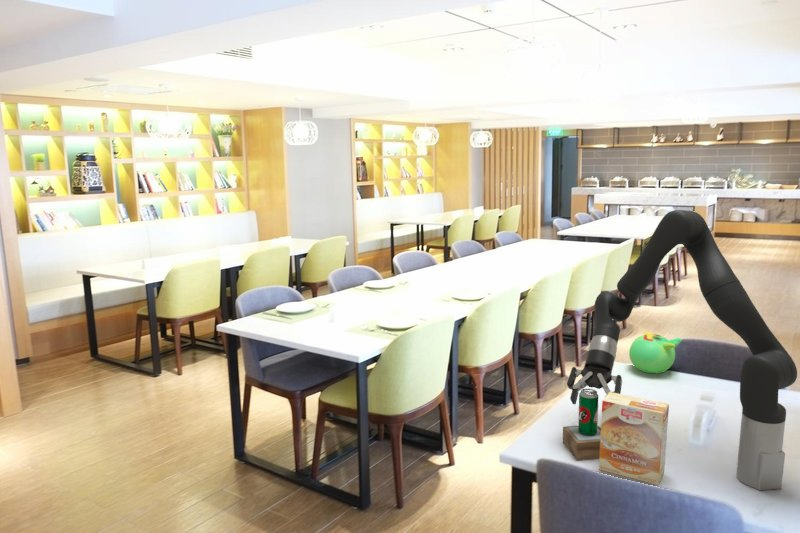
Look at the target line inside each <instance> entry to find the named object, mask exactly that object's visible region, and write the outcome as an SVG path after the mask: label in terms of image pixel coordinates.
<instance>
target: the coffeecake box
mask: <svg viewBox="0 0 800 533" xmlns="http://www.w3.org/2000/svg"><path fill="white" fill-rule="evenodd" d="M613 392H614V391H611V392H609V393H608V394H606V395H605V396H606V397H605V396H604V397H603V399H602V401H601V402H602V403H601V417H600V418H601V419H600V420H601V422H600V428H601V437H600V457H599V458H598V460H599V461H598V462H599V464H598V470H600V471H603V472H607V473H611V474H615V475H617V476H618V475H619V476H622V477H627V478H630V479H634V480H638V481H641V482H644V483H649V484H651V485H656V486H659V485H660V482H661V480H662V478H663V476H664V475H665V465H666V452H667V440H668V439H667V438H668V423H669V412H670V409H669V408H670V403H668V402H667V403H666V402H662V401H657V400H653V399H647V398H643V397H638V396H632V395H627V394H622V393H620V394H618V393H613Z"/></svg>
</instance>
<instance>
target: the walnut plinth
mask: <svg viewBox="0 0 800 533" xmlns="http://www.w3.org/2000/svg"><path fill="white" fill-rule="evenodd" d="M600 437H601V426H600V425H597V433H596V434H594V435H590V436H589V435H584V434H581V433H580V432H579V430H578V425H568V426H562V444H563V445H564V447H565V448H566V449H567V450H568V451H569V453H570V454H571V453H572V454H571V455H572V456H573V457H574V459H575V460H576V461H584V460H596V459H599V457H600Z"/></svg>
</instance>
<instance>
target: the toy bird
mask: <svg viewBox="0 0 800 533" xmlns="http://www.w3.org/2000/svg"><path fill="white" fill-rule="evenodd" d="M682 341H683V339H682V337H677V338H676V337H675V338H673V339H668V338H666V337H664V336H662V335H660V334H655V333H651V332H648V331H644V334H642V335H639V336H637V337H636V338H635V339H634V340H633V341H632V343H631V345H630V347H629V351H628V352H629V355H628V356H629V360H630V362H631V363H632V365H633V366H634V367H635V368H637V369H638V370H640V371H642V372H644V373H648V374H660V373H661V374H662V373H665V372H666V371H667V370H669V369H670V368H671V367H672V366H673V364H674V362H675V359H676V350H675V349H676V347H677V346H678V345H680V343H681V342H682Z"/></svg>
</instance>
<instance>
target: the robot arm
mask: <svg viewBox="0 0 800 533" xmlns="http://www.w3.org/2000/svg"><path fill="white" fill-rule="evenodd" d="M713 236H714V235H713V234H712V232H711V230H710V228H709V226H708V224H707V222H706V220H705V219H704V217H703V216H702V215H701V214H700V213H698V212H697V211H693V210H683V209H676V210H670V211H669V212H667V213H666V214H664V216H663V217H662V218H661V220H660V221H659V223H658V224H657V226H656V228H655V230H654V231H653V233H652V235H651V237H650V238H649V239H648V241H647V243H646V245H645V247H644V248H643V250H641V253H640V255H638V257H637V258H636V260H635V261H634V262H633V264H632V265H631V266H630V267H629V268H628V270H627V271H626V272H625V273H624V274H623V276H622V277H620V279H619V280H618V282H617V284H616V287H617V288H616V289H617V291H619V293H620V294H621V295H622V296H624V297H621V296H619V295H616V294H615V293H614V292H610V291H608V290H605V291H602V292H600V293H599V294H598V295H597V297H596V298H595V301H594V321H595V322H594V323H595V327H594V330H593V334H592V339H591V341H590V343H589V347H588V350H587V355H586V358H585V363H584V366H583V369H578V368H577V367H576V366H573V367H572V368H571V371H570V373H569V377H568V378H567V382H566V385H567V387H568V389H569V390H571V394H570V397H569V398H570V401H571V403H572V405H577V401H578V398H579V392H581V390H582V389H586V388H587V387H589V388H596V389H598V390H600V389H603V391H604V393H605V396H604V397H606V396H607V394H608V393H609V392H613V393H618V394H622V392H621V390H622V385H623V378H622V376H621V375H620V374H617V375H612V373H613V370H614V369H613V368H614V364H615V359H616V357H617V348H618V342H619V337H620V333H621V327H620V325H619V324H618V323H617V322H619V323H622V322H624V321H626V320H627V319H629V318H630V316H631V314H632V311H633V309H634V306H635V305H636V302H638V301H637V300H638V299H639V297H640V296H641V294H642V293H643V292H644V291H645V290H646V289H647V287H648V286H650V284H651V283H652V282H653V280H654V279H655V277H656V276H657V275H656V274H657V272H658V270H659V267H660V265H661V263H662V262H663V260H664V258H665V257H666V256H667V255H668V254H669V252H670V251H672V250H673V249H674V248H676V247H677V246H678V245H683V246H684V248H685V249H686V251H687V253H689V256H690V257H691V258H692V261H693V262H694V264H695V267H696V271H697V279H698V280H697V281H698V285H699V289H700V292H701V295H702V296H703V298H704V300H705V302H706V303H707V305H708V307H709V308H710V310H711V312H712V313H713V314H714V315H715V317H716V318H717V319H718V320H720V321H721V322H722V323H723V324H724V325H725V326H727V327H728V328H730V330H732V331H733V332H734V333H736V334H737V335H738V336H739V337H740V339H741V340H742V341H743V342H744V343H745V345H746V346H747V347H748V349H749V351H750V352H751V354H752V355H751V356H748V357H746V359H745V360H744V361H743V363H742V365H741V369H740V375H739V376H740V379H739V381H740V382H739V401H740V404H741V407H742V408H741V420H740V431H739V439H738V440H739V444H738V452H737V463H736V464H737V466H736V478H737V479H738V481H740V482H741V483H743V484H745V485H746V486H748V487H752V488H755V489H756V490H757V491H767V490H768V491H769V490H777V489H782V486H783V478H784V477H783V476H784V469H785V468H784V467H785V459H786V453H785V452H784V451H783V446H784V436H785V427H786V419H787V418H786V417H787V409H786V408H785V406H784V405H782V404H781V403H779V391H780V390H782V389H785V388H788V387H790V386H792V385H793V384H795V382H796V380H797V378H798V370H797V365H796V363H795V361H794V360H793V359H792V356H791V355H790V354H789V353H788V351H787V350H786V349H785V347H784V346H783V345H782V343H781V342H780V341H779V340H778V339H777V337H776V336H775V334H774V333H773V332H772V331H771V329H770V328H769V326H768V325H767V323H766V322H765V320H764V319H763V317H762V315H761V314H760V312H759V310H758V309H757V308H756V306H755V304H754V303H753V301H752V300H751V298H750V296H749V295H748V293H747V291H746V290H745V287H744V286H743V285H742V283H741V282H740V279H738V277H737V275H736V273H735V272H734V271H733V269H732V268H731V266H730V265H729V263H728V261H727V260H726V258H725V257H724V255H723V254H722V251H721V250H720V248H719V247H718V245H717V243H716V241H715V239H714V237H713ZM580 375H581V378H580V379H578V381H577V382H575V381H576V379H577V378H578V377H579V376H580ZM612 381H613V384H614V391H611V389H610V387H609V385H608V384H609V383H610V382H612Z"/></svg>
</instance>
